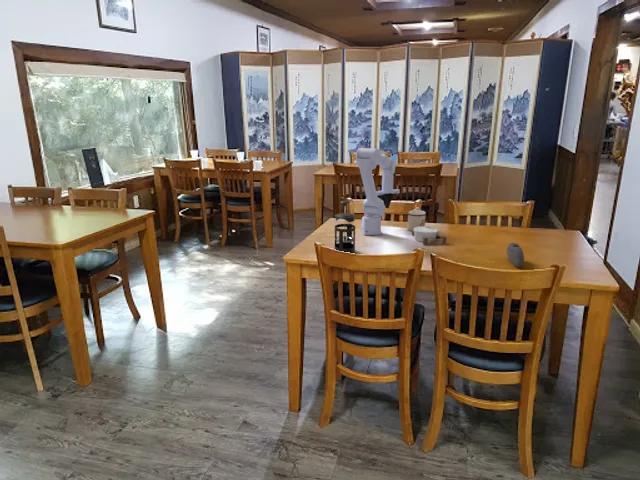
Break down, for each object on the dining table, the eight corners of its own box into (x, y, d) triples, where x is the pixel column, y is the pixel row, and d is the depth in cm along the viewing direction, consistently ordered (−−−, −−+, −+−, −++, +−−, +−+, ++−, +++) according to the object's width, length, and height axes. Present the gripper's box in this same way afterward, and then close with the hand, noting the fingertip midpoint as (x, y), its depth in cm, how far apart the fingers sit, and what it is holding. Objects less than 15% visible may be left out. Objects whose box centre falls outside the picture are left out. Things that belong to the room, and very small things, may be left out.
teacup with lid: (423, 232, 222) (424, 210, 219) (405, 230, 226) (406, 208, 222) (427, 226, 233) (428, 205, 229) (410, 225, 236) (411, 203, 233)
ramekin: (441, 239, 211) (442, 229, 209) (428, 244, 203) (429, 233, 202) (421, 235, 218) (421, 224, 217) (408, 240, 211) (409, 229, 209)
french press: (350, 257, 186) (350, 204, 179) (329, 255, 190) (329, 202, 183) (359, 250, 196) (360, 199, 190) (340, 247, 200) (340, 197, 194)
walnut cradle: (424, 245, 203) (424, 238, 202) (411, 235, 218) (412, 228, 217) (446, 243, 204) (446, 237, 203) (432, 234, 220) (432, 227, 219)
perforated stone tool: (526, 270, 170) (528, 253, 168) (511, 269, 171) (513, 253, 169) (518, 258, 184) (520, 242, 182) (505, 257, 185) (506, 241, 183)
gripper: (380, 184, 222) (379, 210, 225) (403, 182, 228) (402, 207, 232) (372, 182, 227) (372, 208, 231) (395, 180, 234) (394, 205, 238)
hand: (386, 207), depth 232 cm, fingers closed
